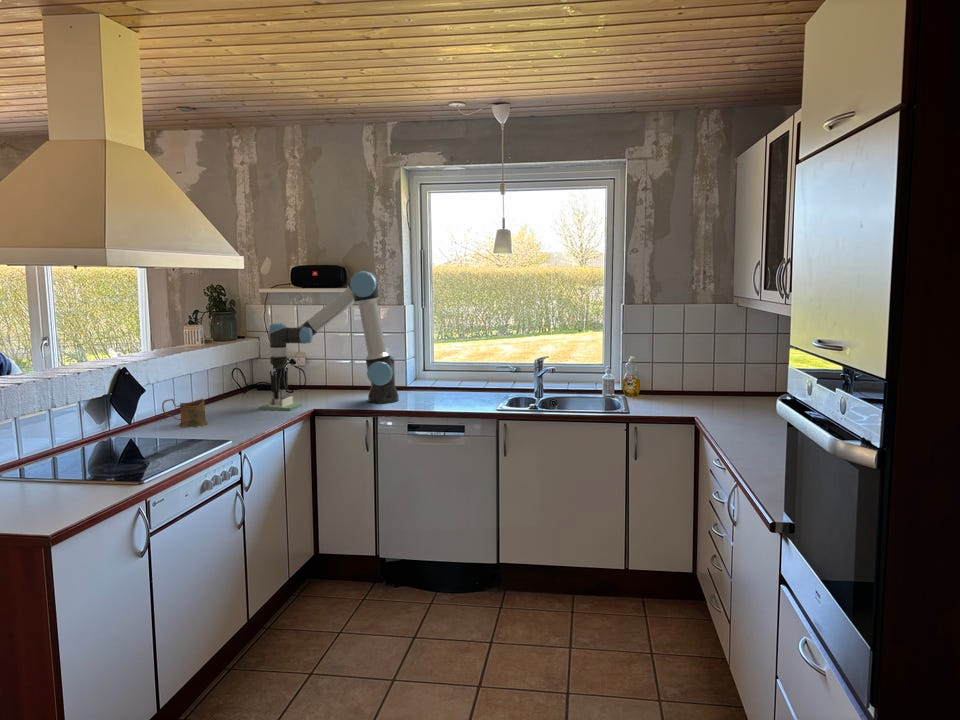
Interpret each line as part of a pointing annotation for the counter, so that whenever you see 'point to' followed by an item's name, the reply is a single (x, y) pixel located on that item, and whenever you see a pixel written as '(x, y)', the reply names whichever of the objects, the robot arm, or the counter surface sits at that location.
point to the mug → (191, 413)
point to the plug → (281, 395)
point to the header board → (285, 405)
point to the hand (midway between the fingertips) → (280, 404)
